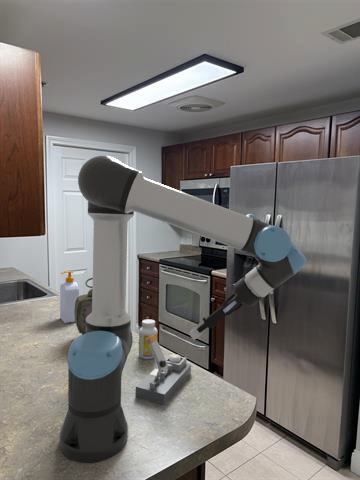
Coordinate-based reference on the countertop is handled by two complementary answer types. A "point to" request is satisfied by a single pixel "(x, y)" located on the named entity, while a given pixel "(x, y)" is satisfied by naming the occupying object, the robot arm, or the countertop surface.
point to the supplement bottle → (144, 333)
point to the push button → (174, 358)
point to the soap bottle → (68, 298)
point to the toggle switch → (162, 364)
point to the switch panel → (164, 382)
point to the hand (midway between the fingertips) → (191, 335)
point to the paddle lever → (156, 352)
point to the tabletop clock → (83, 309)
